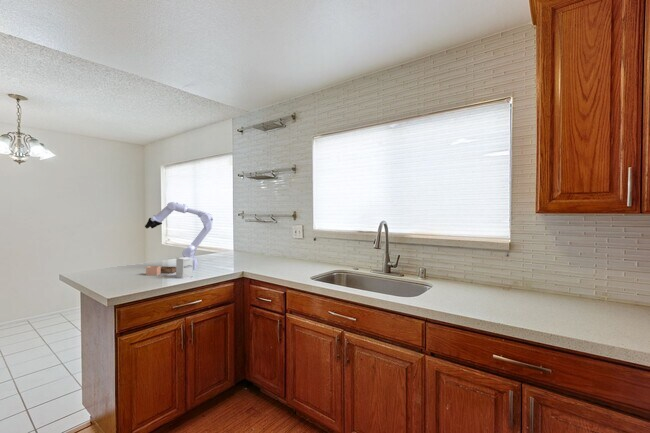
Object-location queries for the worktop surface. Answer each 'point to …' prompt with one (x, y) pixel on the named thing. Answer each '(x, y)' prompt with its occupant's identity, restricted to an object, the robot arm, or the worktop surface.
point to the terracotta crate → (153, 270)
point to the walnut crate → (168, 269)
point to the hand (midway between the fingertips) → (148, 227)
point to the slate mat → (158, 275)
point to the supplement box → (184, 267)
